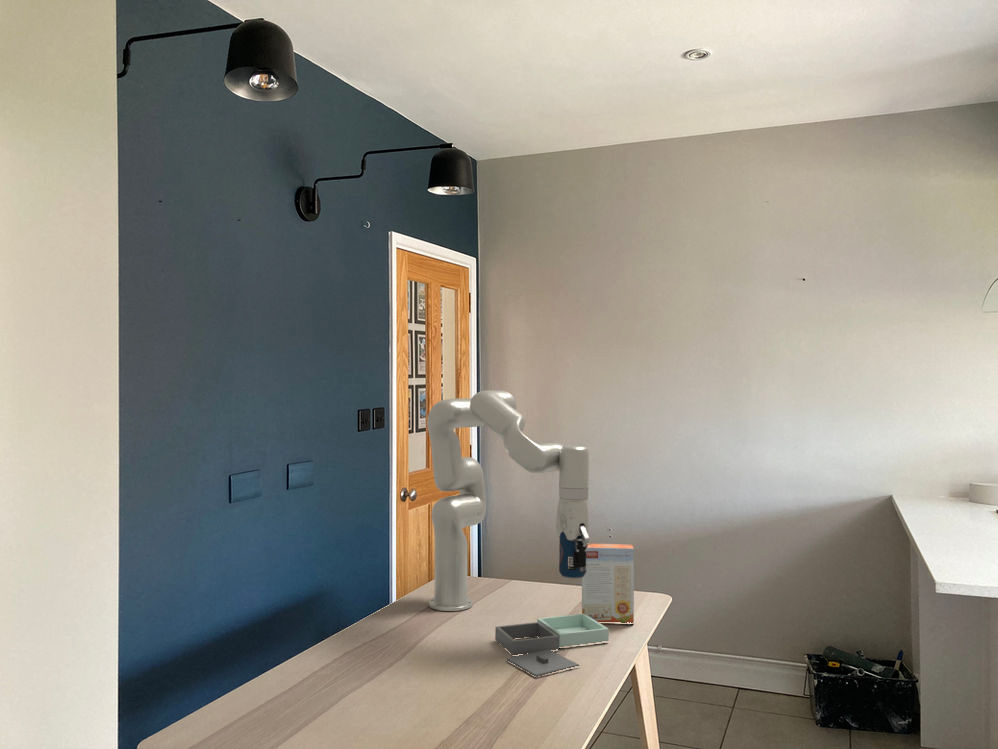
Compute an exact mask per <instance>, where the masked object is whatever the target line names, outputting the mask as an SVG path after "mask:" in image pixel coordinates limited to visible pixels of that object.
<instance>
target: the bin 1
mask: <svg viewBox="0 0 998 749" xmlns="http://www.w3.org/2000/svg"><path fill="white" fill-rule="evenodd" d="M494 632H495V635H494V636H495V640H496V641H497V642H498V643H500V644H501V645H502V646H503V647H504V648H506V649H507V650H508V651H509V652H510V653H511V654H512V655H518V654H527V653H532V652H537V651H541V650H546V649H549V650H556V649H559V636H558V635H556V634H555V633H554V632H552V631H551V630H550V629H548V628H547V627H546V626H544V625H543V624H541V623H540V622H537V621H535V622H527V623H526V622H525V623H518V624H517V623H516V624H508V625H499V626H495V631H494ZM535 636H538V637H539V638H538V637H535ZM524 637H535V638H526V639H518V640H514V639H515V638H524ZM496 641H495V642H496ZM497 642H496V643H497ZM498 643H497V644H498ZM502 646H501V647H502ZM503 647H502V648H503ZM504 648H503V649H504ZM559 650H560V649H559Z"/></svg>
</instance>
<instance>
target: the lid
mask: <svg viewBox="0 0 998 749" xmlns="http://www.w3.org/2000/svg"><path fill="white" fill-rule="evenodd" d="M506 660H507V661H509V662H511V663H513V664H515V665H516V666H518V667H520V668H522V669H523V670H525V671H527V672H529V673H530V674H532V675H534V676H536V677H538V676H542V675H545V674H548V673H552V672H556V671H559V670H563V669H566V668H571V667H575V666H579V667H580V664H579V663H576V662H575V661H572V660H571V659H568V658H567V657H564V656H562V655H561V654H559V653H557V652H553V651H551V650H549V649H546V650H541V651H537V652H532V653H528V654H523V655H519V656H514V657H513V656H510V657H506ZM506 660H505V661H506Z"/></svg>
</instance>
